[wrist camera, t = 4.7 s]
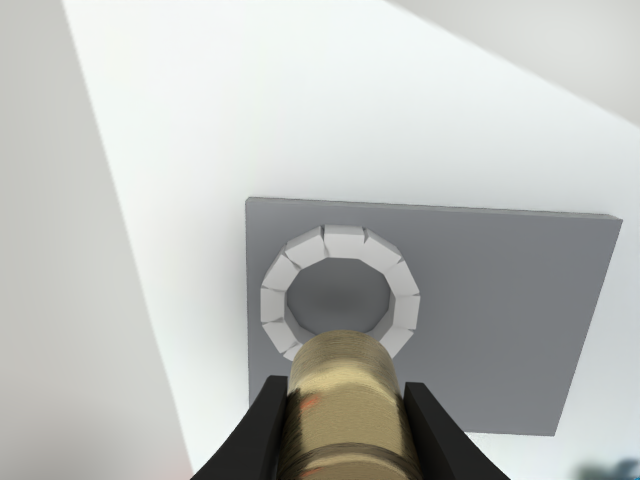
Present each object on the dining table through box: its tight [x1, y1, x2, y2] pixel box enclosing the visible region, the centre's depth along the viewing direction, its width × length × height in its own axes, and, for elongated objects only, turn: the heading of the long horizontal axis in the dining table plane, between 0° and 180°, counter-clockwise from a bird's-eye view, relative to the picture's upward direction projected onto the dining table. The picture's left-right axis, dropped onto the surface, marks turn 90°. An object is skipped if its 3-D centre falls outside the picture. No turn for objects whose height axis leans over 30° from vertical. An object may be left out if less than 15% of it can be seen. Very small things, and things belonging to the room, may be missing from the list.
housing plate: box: [245, 197, 623, 436], centre depth 21 cm, size 19×14×2 cm
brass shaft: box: [276, 330, 424, 480], centre depth 12 cm, size 4×4×6 cm
